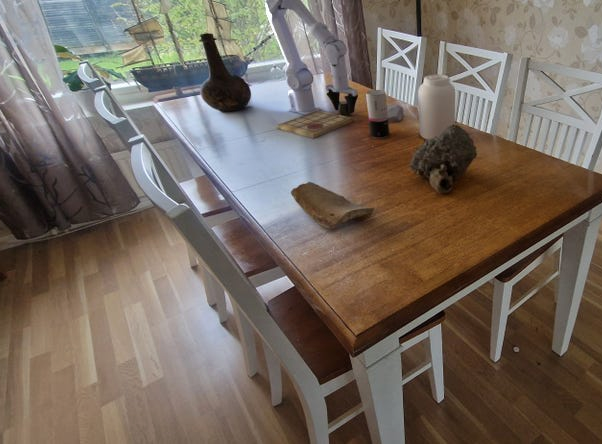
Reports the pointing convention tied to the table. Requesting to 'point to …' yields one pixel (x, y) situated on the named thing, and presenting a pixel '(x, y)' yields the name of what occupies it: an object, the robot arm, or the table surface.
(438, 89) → the white jar
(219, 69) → the glass bottle
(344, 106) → the black canister
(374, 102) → the beverage can
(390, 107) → the stone block
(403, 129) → the table surface
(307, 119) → the board
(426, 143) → the encrusted bottle
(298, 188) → the fossil
